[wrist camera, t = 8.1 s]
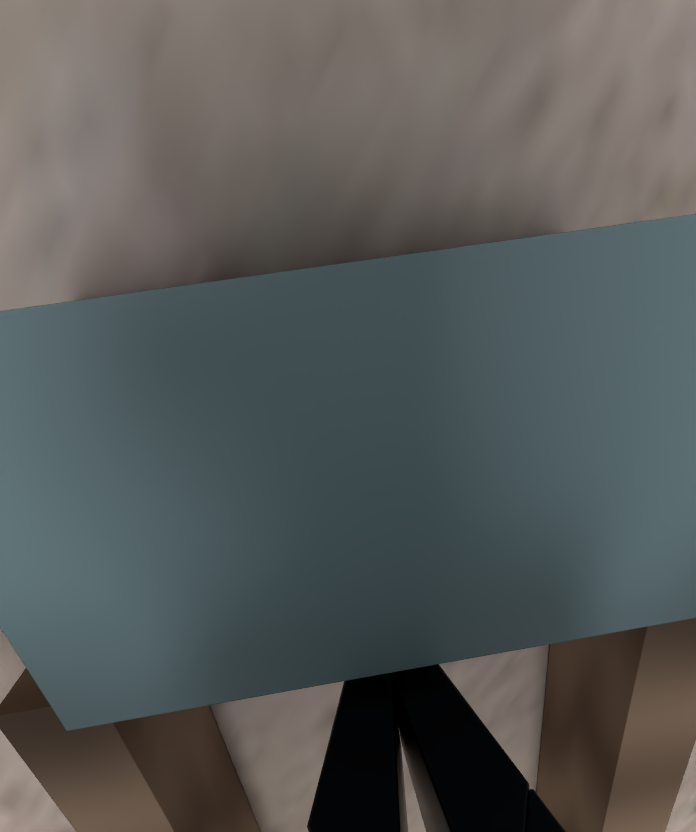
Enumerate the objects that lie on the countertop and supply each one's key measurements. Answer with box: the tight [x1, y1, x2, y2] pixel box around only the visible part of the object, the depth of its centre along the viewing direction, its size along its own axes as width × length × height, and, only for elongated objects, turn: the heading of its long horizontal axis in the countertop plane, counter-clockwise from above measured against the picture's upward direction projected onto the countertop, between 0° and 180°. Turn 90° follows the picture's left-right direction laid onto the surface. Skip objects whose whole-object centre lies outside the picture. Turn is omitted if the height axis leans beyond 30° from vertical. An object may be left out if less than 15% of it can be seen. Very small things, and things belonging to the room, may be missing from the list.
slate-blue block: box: [0, 214, 696, 731], centre depth 7 cm, size 6×10×4 cm, turn 97°
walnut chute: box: [0, 618, 696, 832], centre depth 11 cm, size 14×15×3 cm
